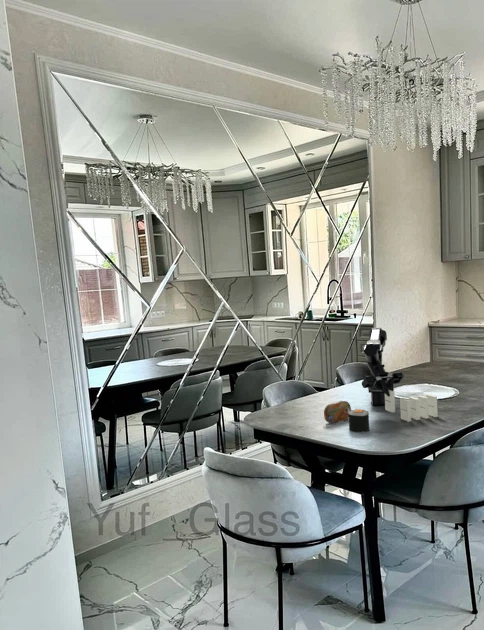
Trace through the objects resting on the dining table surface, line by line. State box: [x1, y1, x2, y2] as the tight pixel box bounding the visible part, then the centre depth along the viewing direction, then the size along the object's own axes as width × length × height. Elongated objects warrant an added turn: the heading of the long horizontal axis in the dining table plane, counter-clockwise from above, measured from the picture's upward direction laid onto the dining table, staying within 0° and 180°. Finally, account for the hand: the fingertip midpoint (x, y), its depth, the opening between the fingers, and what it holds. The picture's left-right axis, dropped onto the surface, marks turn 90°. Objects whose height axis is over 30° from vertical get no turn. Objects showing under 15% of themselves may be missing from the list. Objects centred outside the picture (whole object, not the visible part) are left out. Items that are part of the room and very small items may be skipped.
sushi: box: [348, 408, 370, 433], centre depth 199 cm, size 8×8×8 cm
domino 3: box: [408, 396, 421, 421], centre depth 209 cm, size 2×5×9 cm, turn 17°
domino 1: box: [384, 390, 396, 413], centre depth 210 cm, size 2×5×9 cm, turn 17°
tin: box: [323, 400, 352, 425], centre depth 213 cm, size 15×3×8 cm, turn 126°
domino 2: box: [399, 397, 412, 423], centre depth 208 cm, size 2×5×9 cm, turn 17°
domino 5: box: [425, 393, 438, 418], centre depth 212 cm, size 2×5×9 cm, turn 18°
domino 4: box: [417, 395, 430, 420], centre depth 211 cm, size 2×5×9 cm, turn 17°
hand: (391, 395), depth 209 cm, fingers closed on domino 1, 2 cm apart
